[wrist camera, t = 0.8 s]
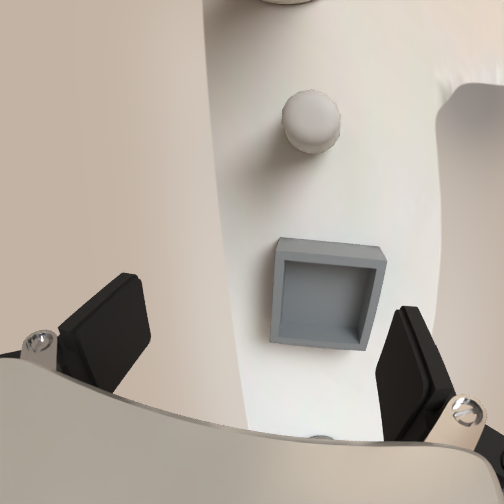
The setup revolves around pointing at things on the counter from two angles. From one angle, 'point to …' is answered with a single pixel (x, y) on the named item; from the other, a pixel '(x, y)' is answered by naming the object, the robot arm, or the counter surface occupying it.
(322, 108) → the salt shaker
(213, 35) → the counter surface
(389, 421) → the robot arm
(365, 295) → the box
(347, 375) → the counter surface
